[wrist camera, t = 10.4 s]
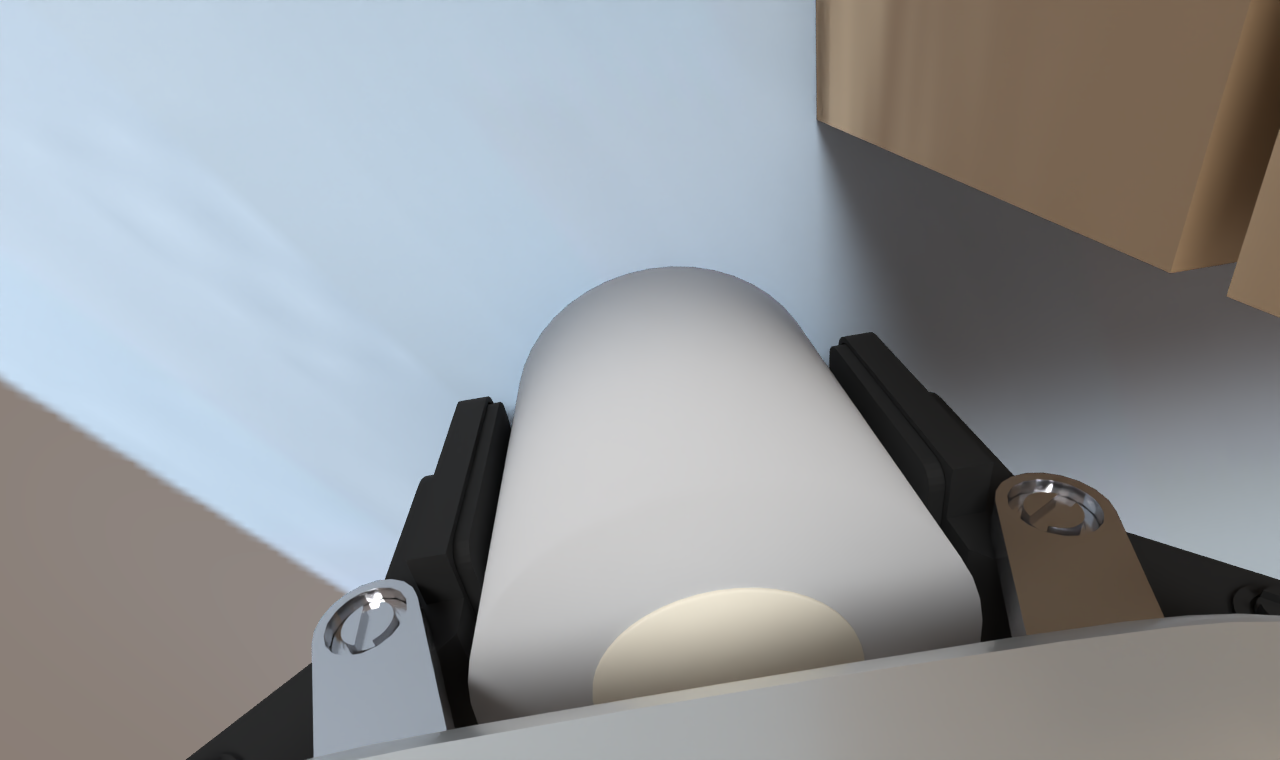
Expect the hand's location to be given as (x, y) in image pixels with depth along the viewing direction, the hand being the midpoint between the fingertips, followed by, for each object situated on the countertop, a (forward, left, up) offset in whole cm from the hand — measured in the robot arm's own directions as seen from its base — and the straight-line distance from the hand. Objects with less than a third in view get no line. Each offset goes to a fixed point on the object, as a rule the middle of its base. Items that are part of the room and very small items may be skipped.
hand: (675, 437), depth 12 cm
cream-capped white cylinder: (0, 0, -1) cm, 1 cm away
